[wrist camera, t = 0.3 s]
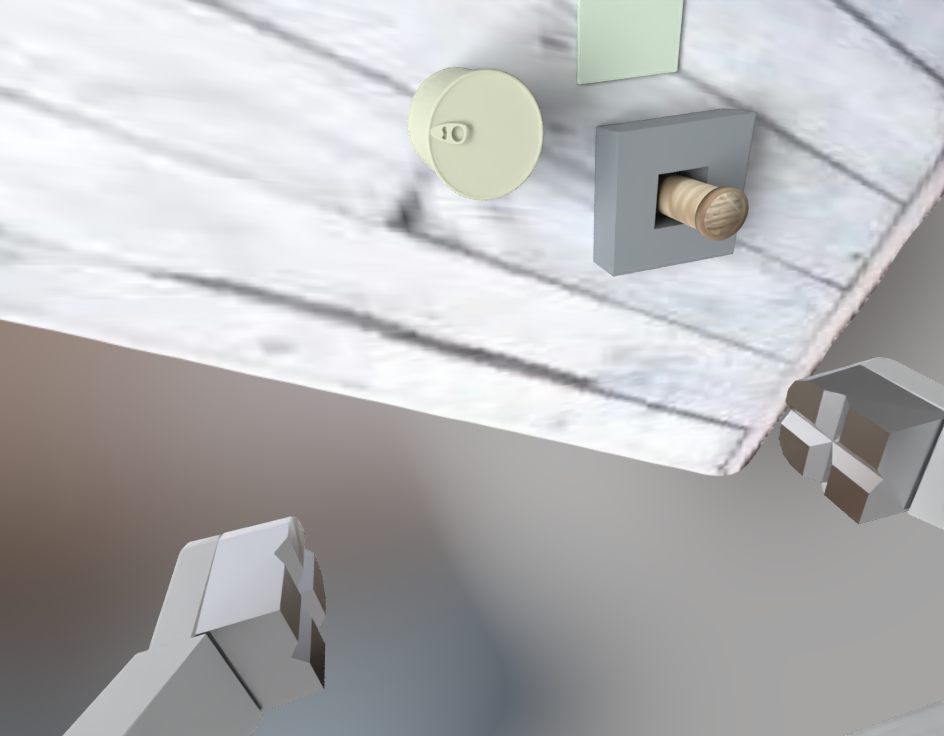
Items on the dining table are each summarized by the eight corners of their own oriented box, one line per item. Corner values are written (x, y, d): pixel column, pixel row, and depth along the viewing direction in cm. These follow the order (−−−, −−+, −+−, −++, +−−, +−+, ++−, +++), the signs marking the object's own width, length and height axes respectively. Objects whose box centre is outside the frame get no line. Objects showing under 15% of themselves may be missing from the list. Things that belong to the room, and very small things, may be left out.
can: (411, 60, 46) (432, 58, 36) (511, 75, 48) (557, 78, 38) (404, 171, 50) (422, 197, 40) (496, 180, 53) (535, 207, 42)
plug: (636, 169, 55) (704, 192, 45) (676, 163, 56) (752, 184, 46) (634, 213, 58) (698, 244, 47) (672, 206, 58) (743, 236, 48)
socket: (596, 127, 52) (619, 132, 48) (723, 108, 54) (756, 112, 50) (593, 261, 59) (613, 276, 55) (705, 240, 61) (733, 253, 57)
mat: (577, -49, 45) (580, -50, 44) (684, -59, 46) (688, -61, 46) (577, 84, 50) (579, 84, 49) (673, 71, 51) (677, 71, 51)
